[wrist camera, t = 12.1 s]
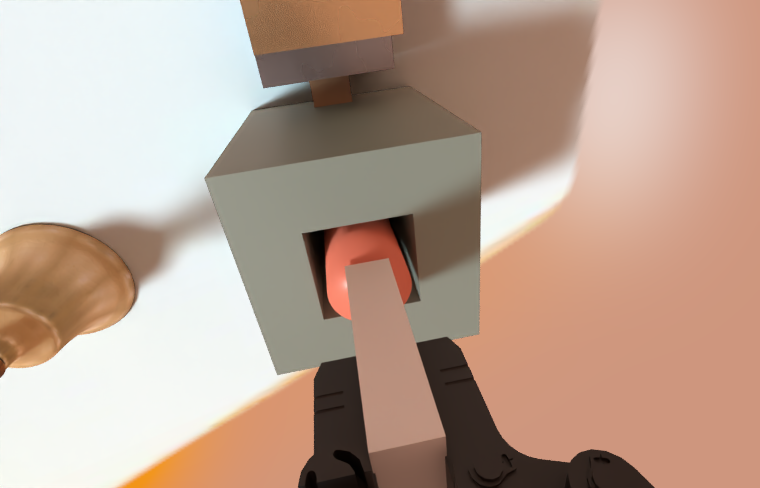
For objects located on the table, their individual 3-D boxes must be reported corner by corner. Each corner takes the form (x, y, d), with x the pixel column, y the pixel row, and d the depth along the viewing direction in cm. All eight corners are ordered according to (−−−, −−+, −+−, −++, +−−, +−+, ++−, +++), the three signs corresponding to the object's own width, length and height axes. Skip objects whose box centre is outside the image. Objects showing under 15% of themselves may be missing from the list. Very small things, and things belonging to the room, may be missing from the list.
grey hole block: (252, 110, 22) (204, 178, 12) (416, 85, 22) (493, 130, 13) (290, 248, 26) (277, 374, 17) (426, 223, 27) (487, 332, 17)
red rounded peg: (316, 178, 20) (319, 261, 13) (375, 168, 20) (408, 245, 13) (328, 230, 21) (335, 329, 14) (381, 220, 21) (414, 313, 15)
